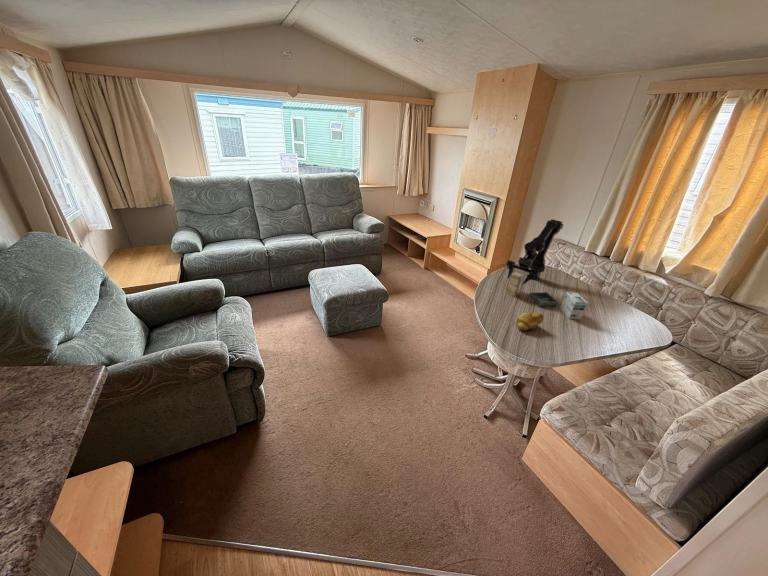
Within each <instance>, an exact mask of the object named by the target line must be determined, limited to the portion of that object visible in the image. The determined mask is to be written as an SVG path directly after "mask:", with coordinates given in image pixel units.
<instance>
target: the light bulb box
mask: <svg viewBox="0 0 768 576" xmlns="http://www.w3.org/2000/svg"><path fill="white" fill-rule="evenodd" d="M561 301H562V302H561V304H560V306H559V310H560V311H561V312H562V313H563V314H564V315H565V317H566V318H567V319H570V320H581V319H582V318H583V315H584V313H585V311H586V308H587V306H588V304H589V302H588V301H587V300H586V299H585V298H584V297H583V296H581V294H579V292H569V291H566V292H565V295H564V296H563V300H561Z"/></svg>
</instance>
